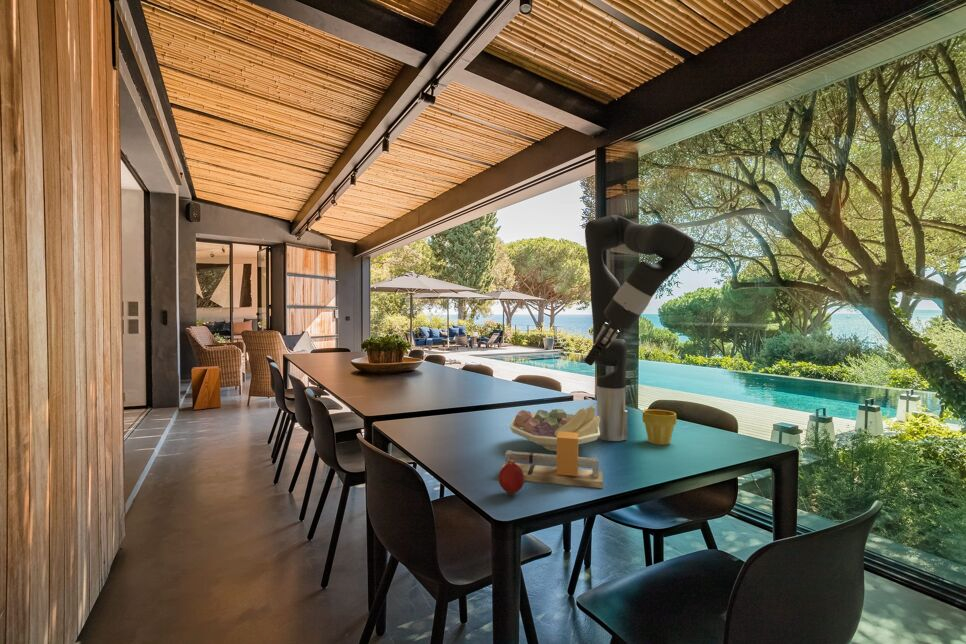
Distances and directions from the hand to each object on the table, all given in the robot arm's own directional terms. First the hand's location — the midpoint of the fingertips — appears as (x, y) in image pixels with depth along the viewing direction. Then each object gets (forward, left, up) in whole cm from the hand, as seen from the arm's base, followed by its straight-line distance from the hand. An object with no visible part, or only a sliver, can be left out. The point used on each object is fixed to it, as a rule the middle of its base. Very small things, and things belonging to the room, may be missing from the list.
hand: (587, 362), depth 114 cm
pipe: (+8, -2, -28) cm, 29 cm away
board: (+8, -2, -29) cm, 30 cm away
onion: (+20, +8, -29) cm, 36 cm away
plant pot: (-36, -31, -29) cm, 56 cm away
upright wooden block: (+5, -1, -27) cm, 27 cm away
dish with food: (0, -27, -29) cm, 40 cm away
